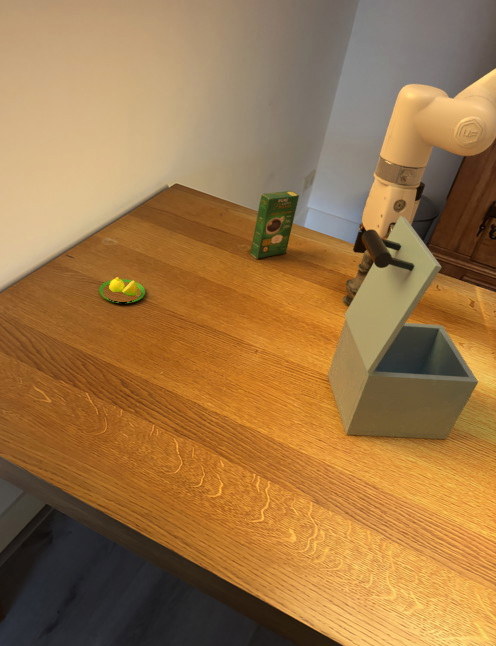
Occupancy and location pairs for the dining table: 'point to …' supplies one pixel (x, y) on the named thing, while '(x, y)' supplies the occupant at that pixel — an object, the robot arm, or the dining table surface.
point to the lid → (389, 289)
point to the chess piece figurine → (357, 279)
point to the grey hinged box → (402, 385)
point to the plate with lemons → (123, 288)
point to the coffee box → (274, 223)
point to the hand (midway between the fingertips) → (367, 265)
